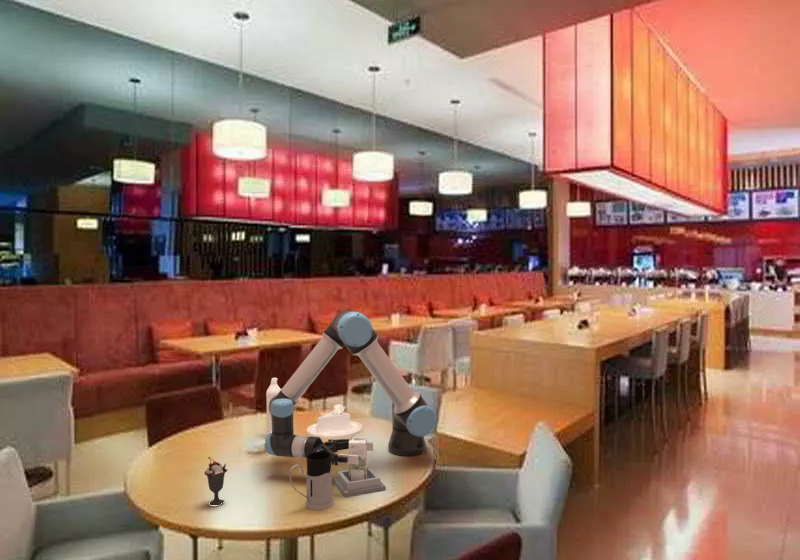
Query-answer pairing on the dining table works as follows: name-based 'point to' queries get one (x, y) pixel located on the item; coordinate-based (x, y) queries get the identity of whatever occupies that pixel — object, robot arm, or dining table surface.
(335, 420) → the dish
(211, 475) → the sundae
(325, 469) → the glass holder
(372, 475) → the box holder
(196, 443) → the dining table surface
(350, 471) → the syrup box
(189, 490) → the dining table surface
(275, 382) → the water bottle
